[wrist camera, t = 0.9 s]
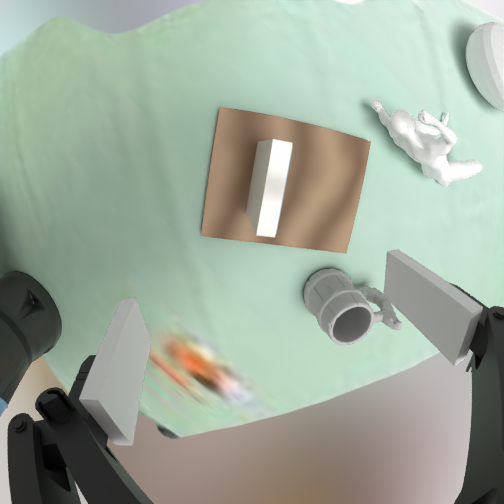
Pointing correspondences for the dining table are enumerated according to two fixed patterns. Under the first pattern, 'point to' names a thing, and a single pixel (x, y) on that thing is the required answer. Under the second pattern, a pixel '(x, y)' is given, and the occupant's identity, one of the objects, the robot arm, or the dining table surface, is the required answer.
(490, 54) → the vase
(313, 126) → the board
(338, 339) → the mug
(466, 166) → the person figurine
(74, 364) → the dining table surface
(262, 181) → the tile
